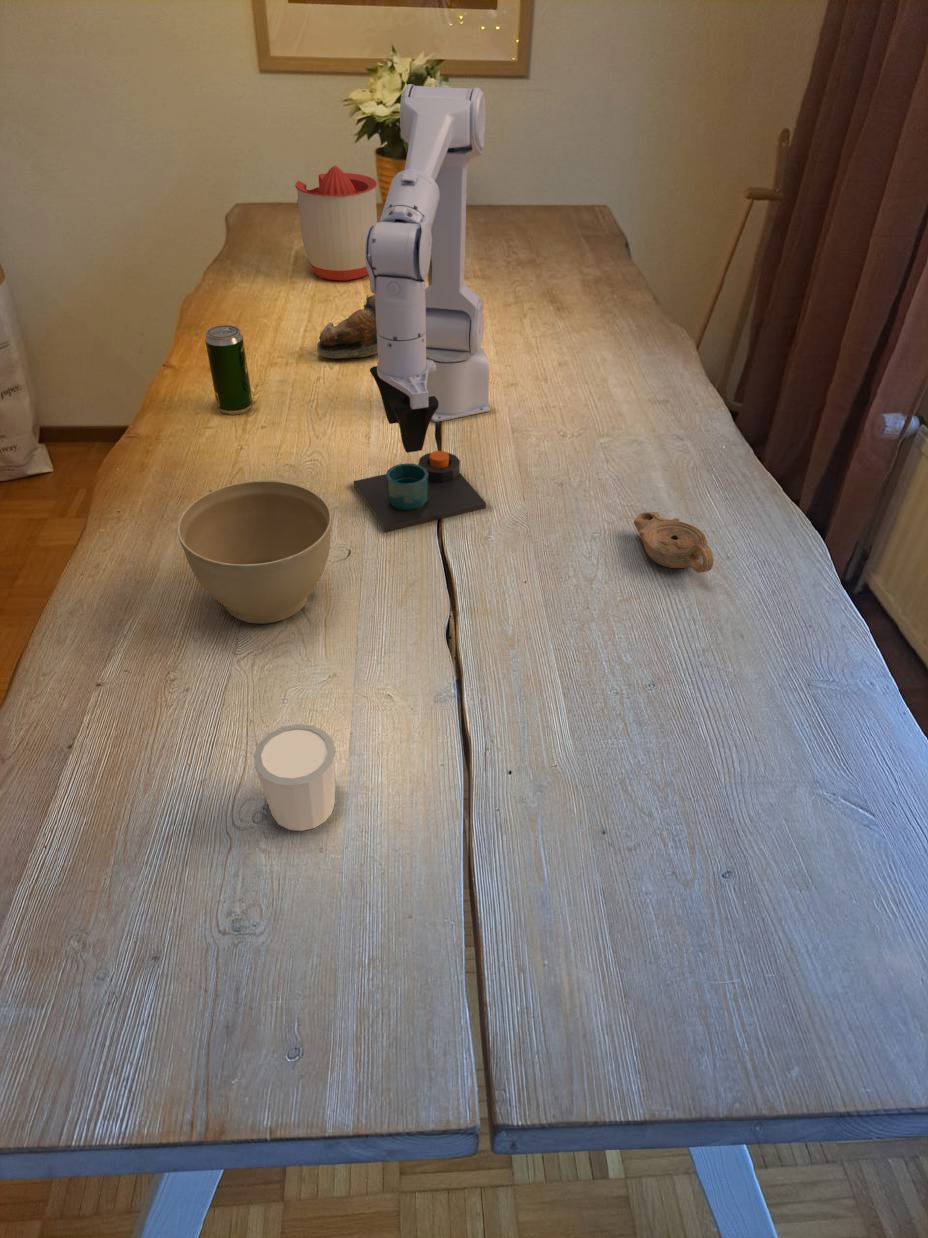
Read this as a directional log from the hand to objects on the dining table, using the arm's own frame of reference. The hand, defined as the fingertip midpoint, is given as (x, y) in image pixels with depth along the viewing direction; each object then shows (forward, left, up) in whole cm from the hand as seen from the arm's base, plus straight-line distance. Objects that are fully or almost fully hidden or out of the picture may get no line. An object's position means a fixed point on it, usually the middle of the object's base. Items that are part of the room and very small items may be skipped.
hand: (404, 435), depth 114 cm
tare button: (-6, -3, -7) cm, 10 cm away
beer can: (+15, -35, -10) cm, 39 cm away
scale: (-1, 0, -9) cm, 9 cm away
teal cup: (+1, +2, -8) cm, 9 cm away
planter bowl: (+23, +13, -10) cm, 28 cm away
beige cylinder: (+28, +43, -10) cm, 52 cm away
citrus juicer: (-19, -86, -10) cm, 88 cm away
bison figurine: (-8, -46, -10) cm, 47 cm away
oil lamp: (-24, +25, -10) cm, 37 cm away
